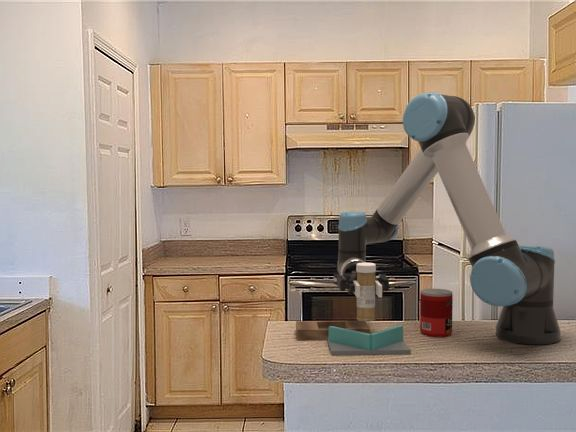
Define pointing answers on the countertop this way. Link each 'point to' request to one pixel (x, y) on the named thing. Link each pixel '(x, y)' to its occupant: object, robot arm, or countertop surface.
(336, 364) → the countertop surface
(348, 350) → the v cradle
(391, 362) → the countertop surface
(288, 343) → the countertop surface
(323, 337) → the brown hollow frame
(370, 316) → the sprinkles bottle
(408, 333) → the countertop surface
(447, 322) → the canned food
